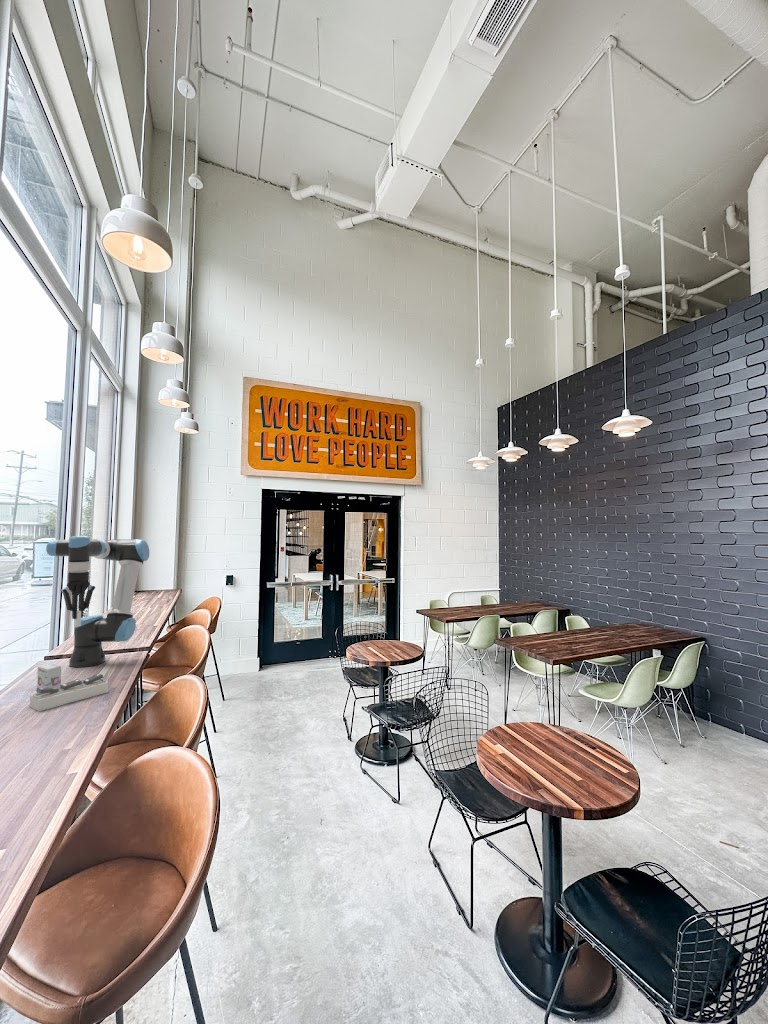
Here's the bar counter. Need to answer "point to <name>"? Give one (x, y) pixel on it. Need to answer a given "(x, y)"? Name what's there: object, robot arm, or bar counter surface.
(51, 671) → the ink box
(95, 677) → the rocker
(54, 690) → the rocker
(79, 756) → the bar counter surface
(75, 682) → the rocker
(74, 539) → the robot arm
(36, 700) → the rocker switch panel
